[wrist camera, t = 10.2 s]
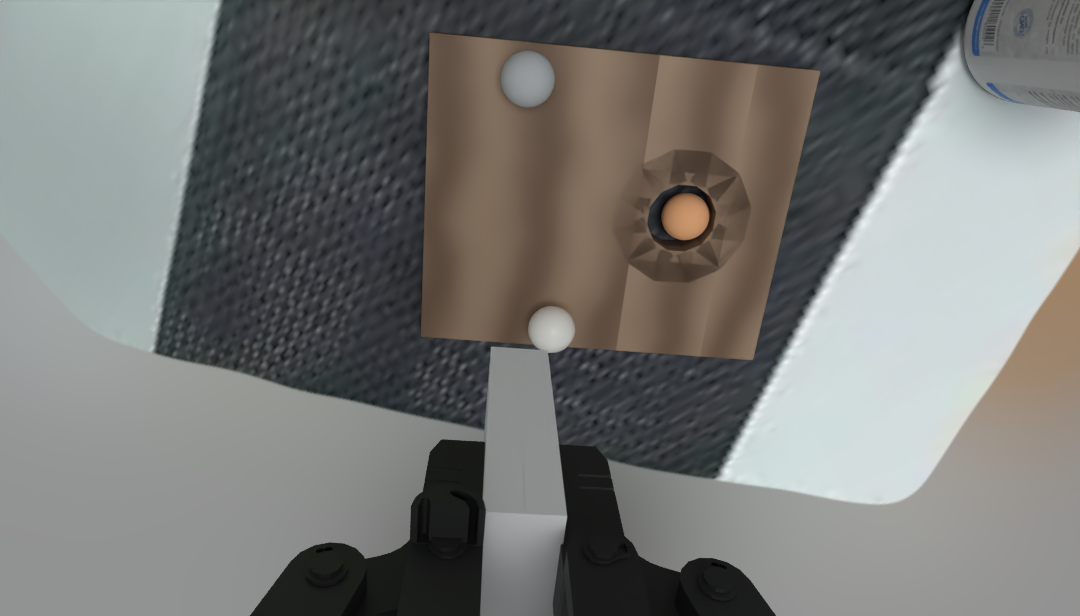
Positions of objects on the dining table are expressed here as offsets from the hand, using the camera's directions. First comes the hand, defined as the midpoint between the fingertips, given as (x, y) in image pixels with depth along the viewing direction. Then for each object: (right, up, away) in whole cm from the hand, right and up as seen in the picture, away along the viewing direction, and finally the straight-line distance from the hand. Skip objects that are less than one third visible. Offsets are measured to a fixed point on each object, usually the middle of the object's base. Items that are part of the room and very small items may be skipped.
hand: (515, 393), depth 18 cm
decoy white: (+1, +1, +28) cm, 28 cm away
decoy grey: (0, +16, +22) cm, 27 cm away
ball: (+11, +9, +28) cm, 31 cm away
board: (+5, +10, +29) cm, 31 cm away
